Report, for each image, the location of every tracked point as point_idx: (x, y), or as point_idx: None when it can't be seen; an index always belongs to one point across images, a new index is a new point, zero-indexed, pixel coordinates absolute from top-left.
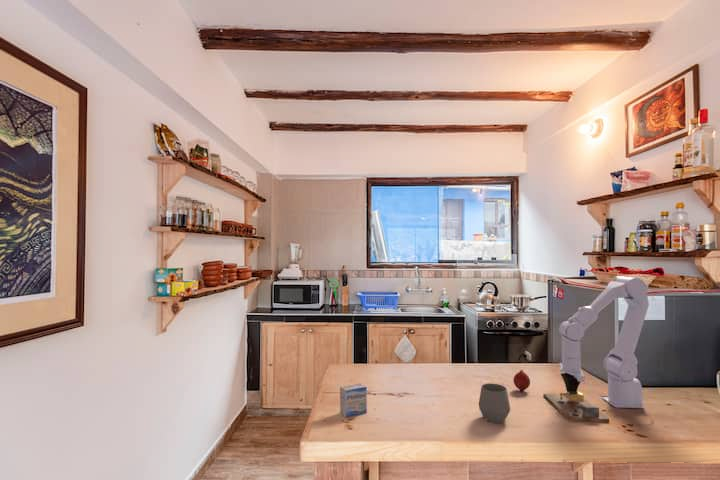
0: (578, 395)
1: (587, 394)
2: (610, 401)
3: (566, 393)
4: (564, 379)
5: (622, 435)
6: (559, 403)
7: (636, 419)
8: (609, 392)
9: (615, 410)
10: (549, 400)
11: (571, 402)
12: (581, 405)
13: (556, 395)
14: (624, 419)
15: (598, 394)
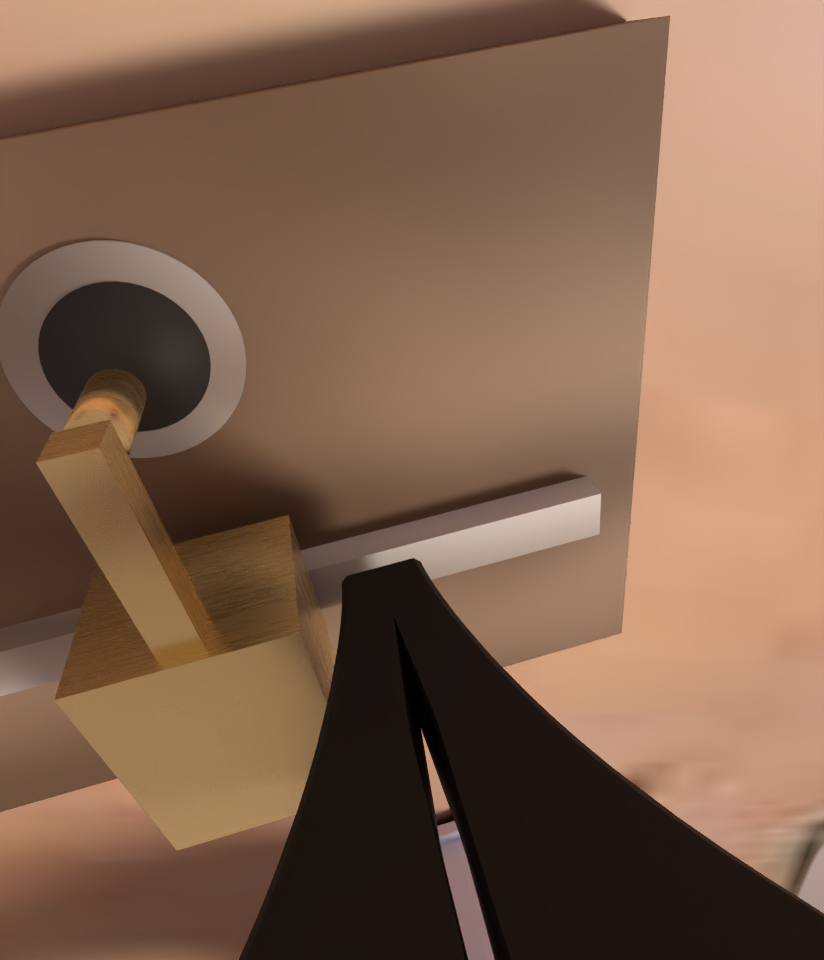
0: (132, 780)
1: (685, 687)
2: (444, 849)
3: (145, 601)
4: (526, 890)
5: None
6: (19, 304)
7: (79, 954)
8: (488, 953)
9: (258, 854)
10: (268, 89)
11: None
12: (34, 677)
13: (560, 332)
14: (10, 909)
15: (678, 756)
